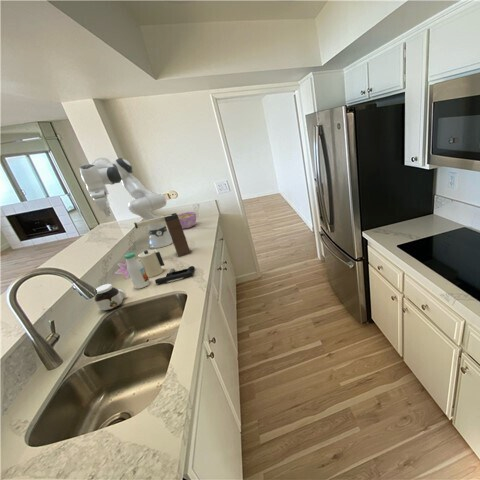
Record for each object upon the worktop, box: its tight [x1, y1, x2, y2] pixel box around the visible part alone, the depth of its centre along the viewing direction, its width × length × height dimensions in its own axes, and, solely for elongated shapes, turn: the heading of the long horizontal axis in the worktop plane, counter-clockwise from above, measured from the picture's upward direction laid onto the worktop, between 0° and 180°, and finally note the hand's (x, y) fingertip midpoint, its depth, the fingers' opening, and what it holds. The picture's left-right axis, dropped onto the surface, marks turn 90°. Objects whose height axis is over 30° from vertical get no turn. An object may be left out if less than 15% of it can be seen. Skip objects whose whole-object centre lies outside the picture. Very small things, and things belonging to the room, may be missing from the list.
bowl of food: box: [177, 211, 197, 230], centre depth 246 cm, size 20×20×12 cm
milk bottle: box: [124, 252, 151, 290], centre depth 149 cm, size 8×8×20 cm
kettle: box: [136, 249, 165, 278], centre depth 162 cm, size 14×9×16 cm, turn 125°
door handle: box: [154, 265, 195, 285], centre depth 159 cm, size 3×20×16 cm
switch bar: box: [133, 213, 173, 229], centre depth 175 cm, size 3×22×3 cm, turn 125°
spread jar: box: [94, 283, 127, 312], centre depth 135 cm, size 12×11×12 cm
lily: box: [114, 259, 130, 279], centre depth 166 cm, size 12×12×10 cm
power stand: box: [164, 212, 191, 258], centre depth 185 cm, size 10×8×29 cm
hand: (108, 214), depth 164 cm, fingers open, 8 cm apart
